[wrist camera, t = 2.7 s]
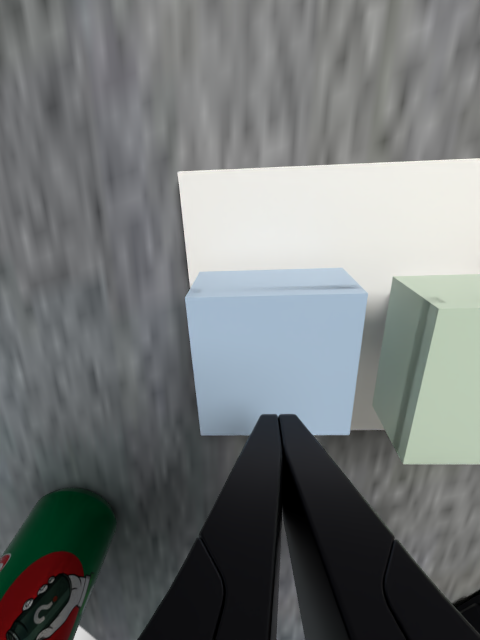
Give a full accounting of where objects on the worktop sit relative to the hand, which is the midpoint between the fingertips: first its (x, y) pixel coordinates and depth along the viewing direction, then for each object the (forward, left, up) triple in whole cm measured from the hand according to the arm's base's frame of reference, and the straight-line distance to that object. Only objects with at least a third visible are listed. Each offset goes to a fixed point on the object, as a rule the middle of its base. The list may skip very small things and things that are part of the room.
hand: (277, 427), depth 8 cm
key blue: (0, 0, -5) cm, 5 cm away
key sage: (-6, -3, -4) cm, 8 cm away
